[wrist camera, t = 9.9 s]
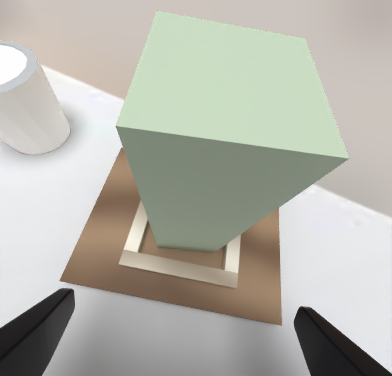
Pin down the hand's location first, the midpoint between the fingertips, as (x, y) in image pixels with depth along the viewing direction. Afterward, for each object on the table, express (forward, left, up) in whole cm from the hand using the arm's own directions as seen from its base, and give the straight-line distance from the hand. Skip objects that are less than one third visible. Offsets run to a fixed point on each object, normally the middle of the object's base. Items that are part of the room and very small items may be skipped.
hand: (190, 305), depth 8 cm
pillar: (+5, +1, -7) cm, 9 cm away
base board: (+5, +1, -8) cm, 10 cm away
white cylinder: (+12, +18, -8) cm, 23 cm away
